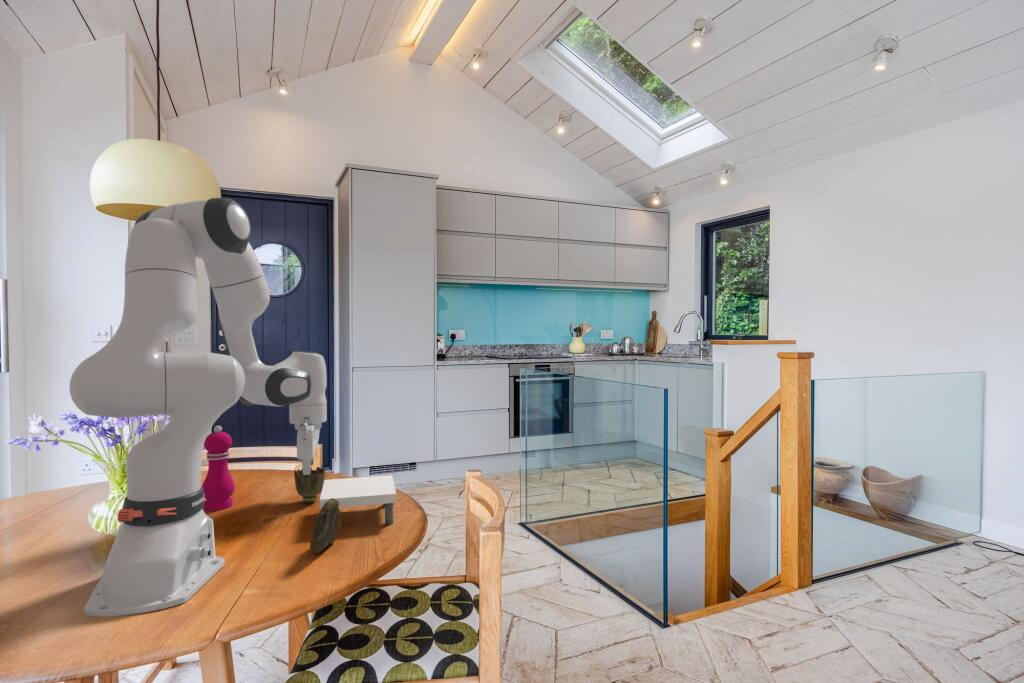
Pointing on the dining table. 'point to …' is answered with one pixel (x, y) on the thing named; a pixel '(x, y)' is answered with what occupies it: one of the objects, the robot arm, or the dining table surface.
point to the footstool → (362, 493)
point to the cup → (309, 484)
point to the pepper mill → (218, 472)
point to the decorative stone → (326, 526)
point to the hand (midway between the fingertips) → (308, 469)
